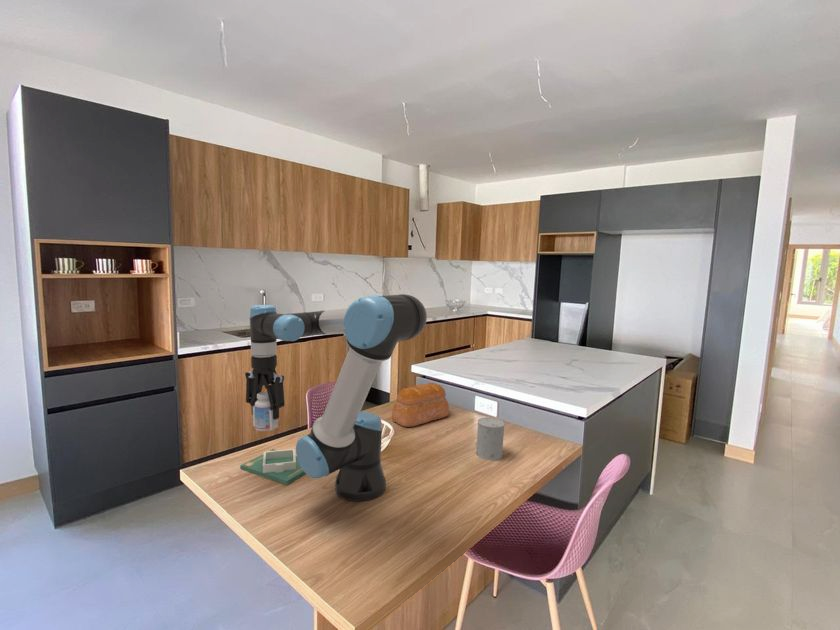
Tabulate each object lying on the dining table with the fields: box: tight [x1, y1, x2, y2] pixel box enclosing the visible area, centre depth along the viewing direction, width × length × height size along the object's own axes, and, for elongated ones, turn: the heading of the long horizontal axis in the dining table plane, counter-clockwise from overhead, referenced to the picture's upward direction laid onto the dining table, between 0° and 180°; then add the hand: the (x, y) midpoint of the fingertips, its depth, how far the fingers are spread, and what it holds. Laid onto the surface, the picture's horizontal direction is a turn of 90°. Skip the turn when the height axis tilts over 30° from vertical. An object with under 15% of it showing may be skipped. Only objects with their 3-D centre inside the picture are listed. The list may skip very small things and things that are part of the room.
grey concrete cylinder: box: [475, 417, 505, 461], centre depth 154 cm, size 10×10×12 cm
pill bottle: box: [254, 391, 271, 432], centre depth 133 cm, size 6×6×11 cm
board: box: [240, 448, 307, 486], centre depth 139 cm, size 20×14×4 cm
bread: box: [391, 382, 450, 428], centre depth 187 cm, size 14×26×15 cm, turn 131°
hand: (265, 426), depth 133 cm, fingers closed on pill bottle, 6 cm apart
